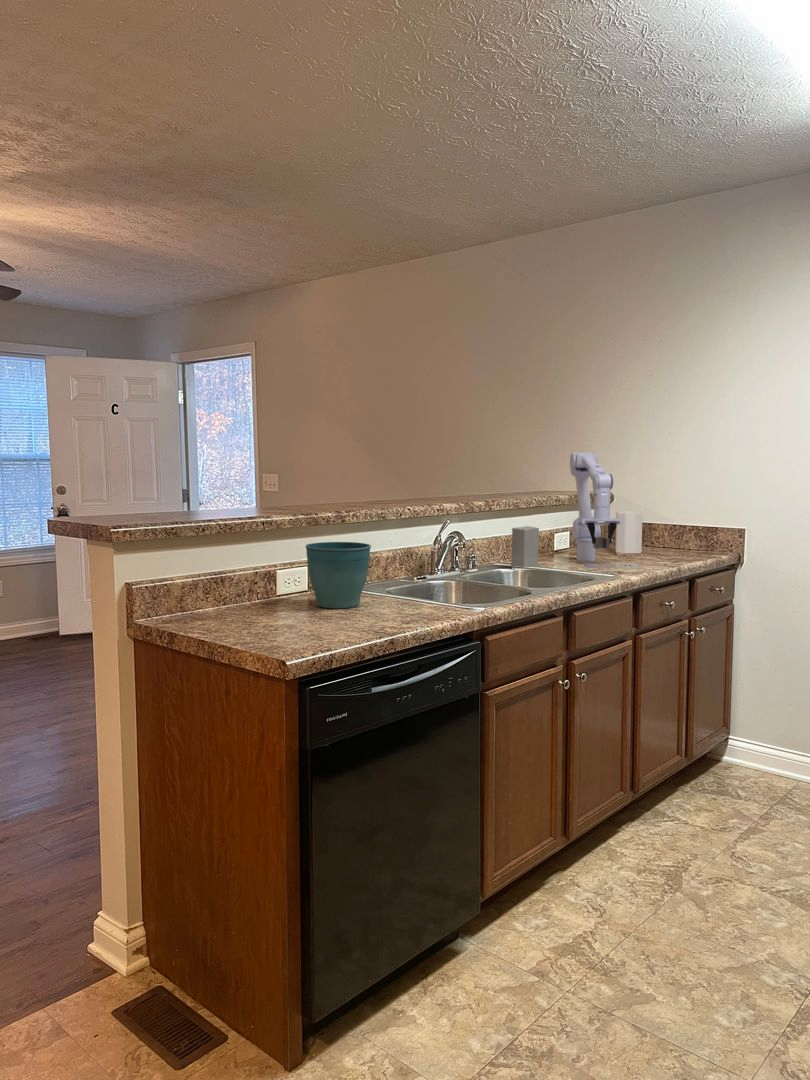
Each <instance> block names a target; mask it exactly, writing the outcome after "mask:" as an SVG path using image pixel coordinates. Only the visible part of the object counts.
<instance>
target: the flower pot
mask: <svg viewBox="0 0 810 1080" xmlns="http://www.w3.org/2000/svg"><path fill="white" fill-rule="evenodd" d="M305 548H306V561H307V562H306V563H307V571H308V578H309V581H310V584H311V587H312V590H313V593H314V596H315V601H316V602H315V604H316V606H318V607H320V608H325V609H349V608H351V607H352V608H355V607H358V606H360V601H361V596H362V593H363V590H364V587H365V584H366V581H367V577H368V573H369V564H370V563H369V561H370V554H371V548H372V545H371V544H370V543H366V542H365V543H364V542H356V541H352V542H351V541H327V542H326V541H325V542H324V541H323V542H322V541H321V542H313V543H307V544H305Z"/></svg>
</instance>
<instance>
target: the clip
mask: <svg viewBox="0 0 810 1080" xmlns="http://www.w3.org/2000/svg"><path fill="white" fill-rule="evenodd" d="M609 542H610V538H608V536H600V537H595V544H593V548H595V549H596V550H599V549H605V550H610V544H609Z"/></svg>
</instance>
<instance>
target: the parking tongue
mask: <svg viewBox="0 0 810 1080" xmlns="http://www.w3.org/2000/svg"><path fill="white" fill-rule="evenodd" d="M554 563H555V564H556V566H579V564H578V563H577V562H576V561H575V562H574V561H573V562H572V561H571V562H570V561H568V562H565V561H562V562H561V561H560V562H559V561H555V562H554Z"/></svg>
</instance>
